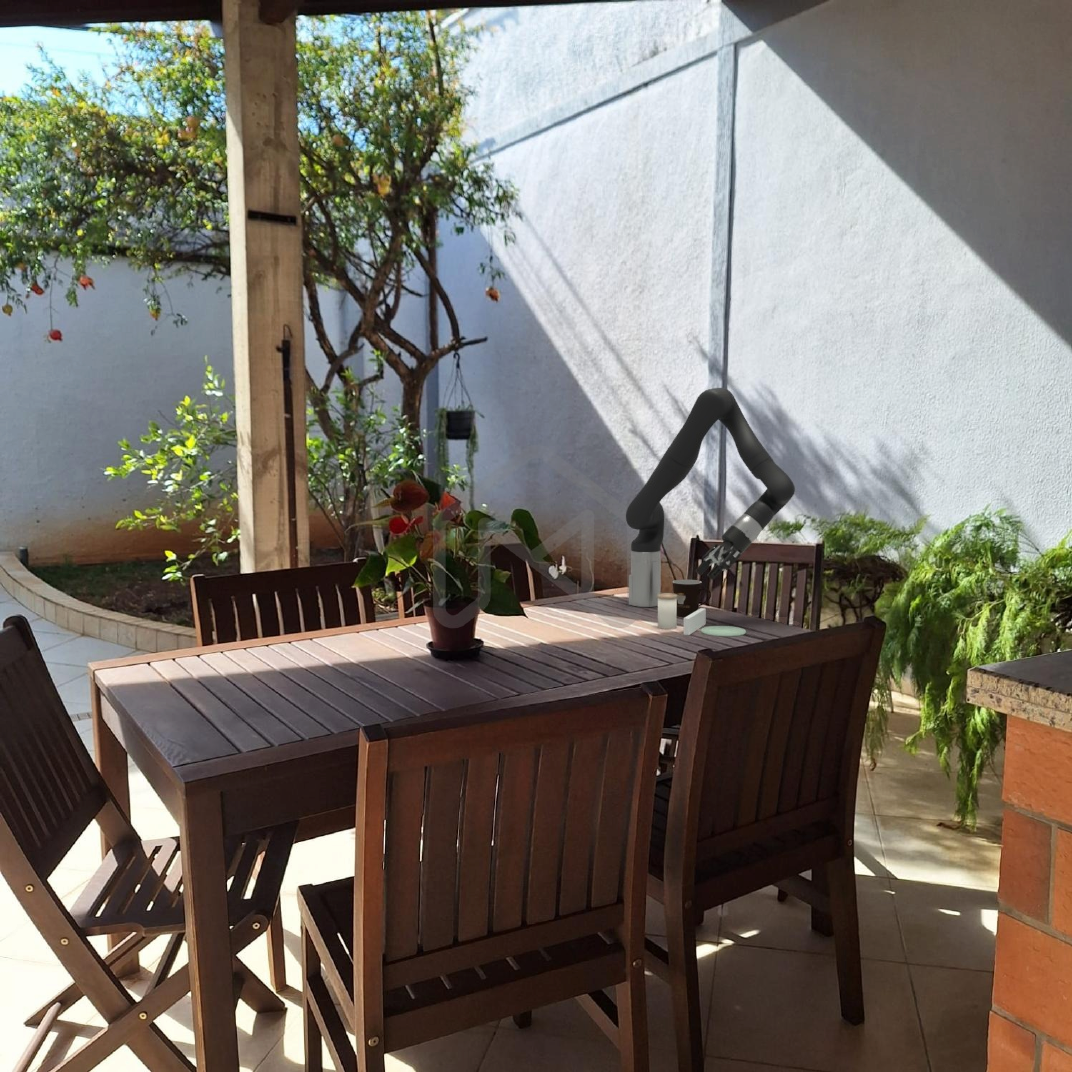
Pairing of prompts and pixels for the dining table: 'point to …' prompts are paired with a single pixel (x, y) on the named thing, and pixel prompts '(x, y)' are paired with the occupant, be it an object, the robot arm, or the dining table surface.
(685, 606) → the coffee mug
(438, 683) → the dining table surface
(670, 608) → the cream jar
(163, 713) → the dining table surface
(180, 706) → the dining table surface
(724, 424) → the robot arm
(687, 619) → the grey wall
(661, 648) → the dining table surface
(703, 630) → the sage pad
